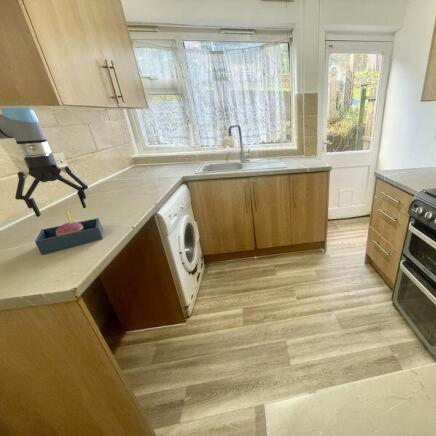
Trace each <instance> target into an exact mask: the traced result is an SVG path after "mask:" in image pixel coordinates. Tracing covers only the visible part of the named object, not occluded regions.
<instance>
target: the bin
mask: <svg viewBox="0 0 436 436" xmlns="http://www.w3.org/2000/svg"><path fill="white" fill-rule="evenodd" d="M76 222H77V223H81V224H82V225H83V229H82V231H79V232H74V233H69V234H65V235H60V236H57V235H56V233H55V232H56V229H57V228H58V227H60V226H61V225H57V226H53V227H52V226H51V227H48V228H43V229H40V232H39V233H38V235H37V237H36V239H35V240H34V243H35V245H36V246H37V249H38V251H39V252H40V255H46V254H51V253H55V252H57V251H63V250H67V249H71V248H75V247H79V246H83V245H86V244H91V243H94V242H98V241H102V240H103V239H104V238H103V237H104V235H103V234H104V232H103V231H104V228H103V225H102V223H101V220H100V218H99V217H96V218H92V219H91V218H90V219H87V220H82V221H76Z"/></svg>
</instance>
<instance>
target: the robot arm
mask: <svg viewBox="0 0 436 436" xmlns="http://www.w3.org/2000/svg"><path fill="white" fill-rule="evenodd" d="M1 113H2V114H0V140H6V139H14V140H15V143H16V145H17V147H18V149H19V151H20V154H21V155H22V156H24V157H23V160H24V162H25V164H26V166H27V169H28V171H23V170H20V171H18V172H17V177H18V182H17V186H16V191H15V195H14V199H15V200H18V201H19V200H21V201H24V203H25V204H26V206H27V208H28V209H32V210H33V212H34V215H35V216H36V218H38V217H41V215H42V213H41V211H40V209H39V207H38V205H37V203H36V201H35V198H34V197H31V196H32V195H33V193H34V192H35V190H36V188H37V186H39V183H40V182H42V183H48V182H55V181H59V182H62V183H63V184H65V185H67V186H69V187H71V188H73V189H74V190H76V191H77V192H76V194H77V196H78V198H79V200H80V204H81V206H82V209H87V204H86V202H85V200H86V199H87V195H86V192H85V190H88V189H89V185H88V184H87V183H86V182H84V181H83V180H82V179H81V178H80V177H79V176H78V175H76V173H74V172H73V171H72V169H71V167H70V166H69V165H66V166H64V167H59V166H58V164H57V161H56V159H55V156H54V155H53V154H52V150H51V147H50V144H49V142H48V141H47V139H46V135H45V133H44V131H43V129H42V126H41V123H40V120H39V119H38V116H37V114H36V113H35V110H34V109H32V108H31V107H28V106H9V107H2V108H1ZM61 172H63V173H64V174H67V175H68V176H70V178H72V179H73V180H74V181H75V182H76V183H77V184H76V183H75V182H73V181H71V180H69V179H68V178H66V177H64V175H61ZM29 176H30V177H31V178H32V177H33V178H34V180H33V182H31V185H30V186H29V188H28V190H27V191H26V193H25V194H24V195H23V193H24V188H25V183H26V179H27V178H28V177H29ZM78 184H79V185H78Z"/></svg>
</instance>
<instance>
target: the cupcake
mask: <svg viewBox="0 0 436 436" xmlns="http://www.w3.org/2000/svg"><path fill="white" fill-rule="evenodd" d="M65 213H66V217H67V221H68V222H66V223H63V224H61V225H59V226H60V227H58V228H57V229H56V232H55V233H56V235H57V236H60V235H65V234H69V233H74V232H79V231H82V229H83V225H82V224H81V223H77V222H78V221H76V222H75V221H72V219H71V217H70V213H69V211H68V210H66V212H65Z"/></svg>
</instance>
